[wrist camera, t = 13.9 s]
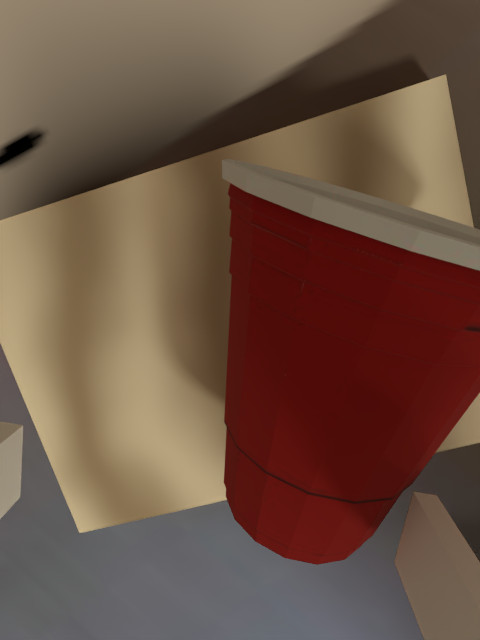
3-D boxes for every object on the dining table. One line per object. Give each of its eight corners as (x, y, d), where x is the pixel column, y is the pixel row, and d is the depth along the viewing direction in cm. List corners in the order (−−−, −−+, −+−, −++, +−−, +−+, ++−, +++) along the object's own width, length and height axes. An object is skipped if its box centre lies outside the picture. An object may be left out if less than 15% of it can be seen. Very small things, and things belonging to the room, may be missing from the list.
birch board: (433, 84, 18) (445, 74, 17) (497, 423, 21) (511, 435, 20) (-27, 234, 20) (-45, 235, 19) (89, 517, 23) (79, 533, 22)
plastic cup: (389, 764, 10) (683, 248, 6) (98, 493, 15) (139, 136, 11) (467, 513, 18) (604, 240, 14) (263, 399, 24) (320, 179, 20)
